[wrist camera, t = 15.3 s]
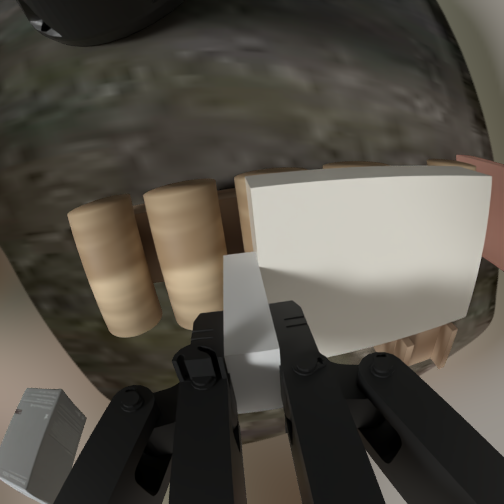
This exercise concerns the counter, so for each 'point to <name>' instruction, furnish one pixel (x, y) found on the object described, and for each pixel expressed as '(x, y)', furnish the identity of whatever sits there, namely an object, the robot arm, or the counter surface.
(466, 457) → the robot arm
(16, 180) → the counter surface
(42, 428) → the skincare box
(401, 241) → the slab
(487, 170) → the block
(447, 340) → the pedestal
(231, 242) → the roller bed
